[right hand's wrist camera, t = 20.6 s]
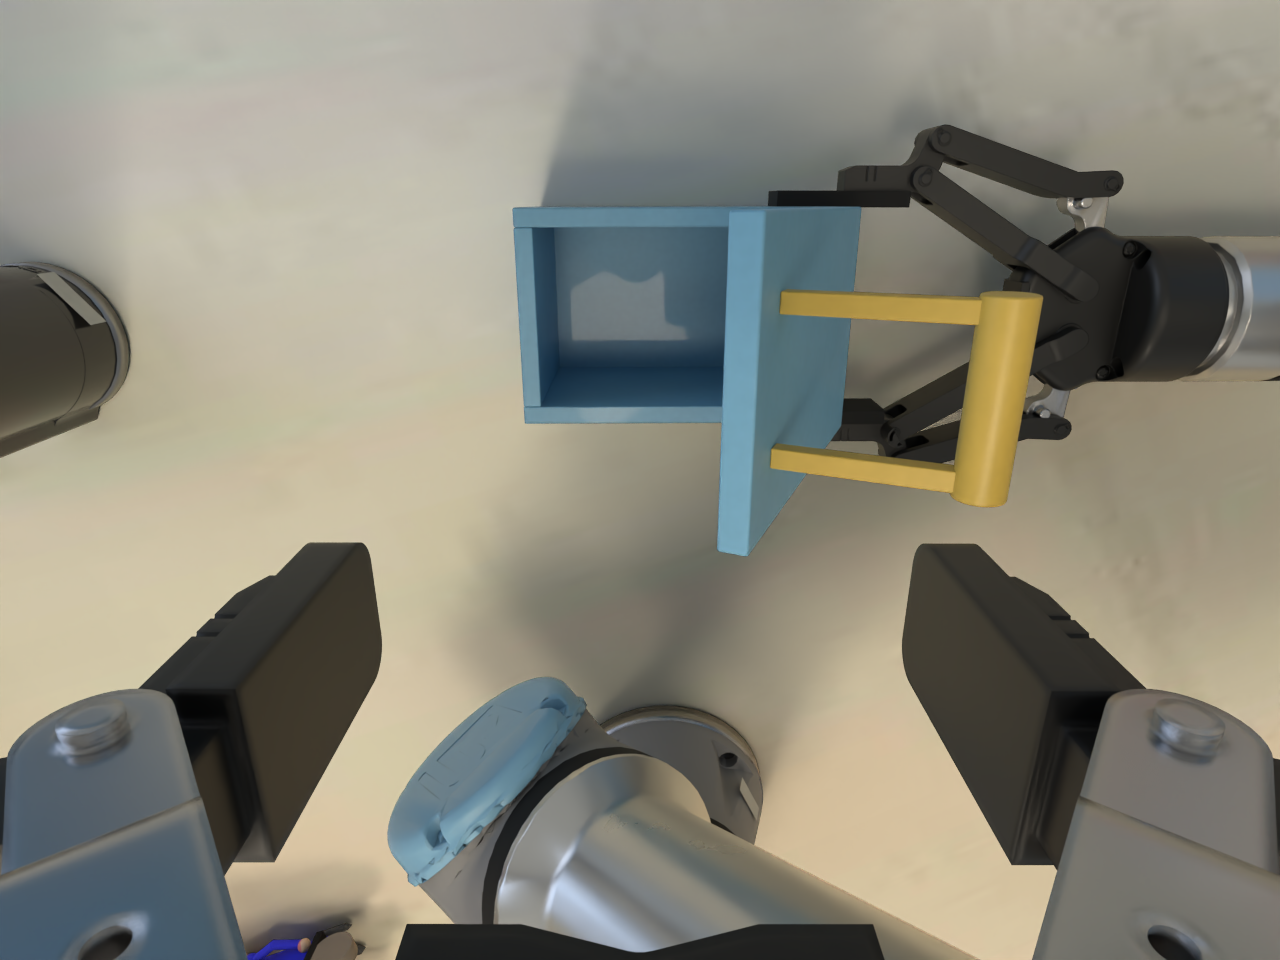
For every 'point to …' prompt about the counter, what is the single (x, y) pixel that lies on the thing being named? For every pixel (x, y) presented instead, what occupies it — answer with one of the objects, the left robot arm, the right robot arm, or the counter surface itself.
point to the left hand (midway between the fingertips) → (765, 310)
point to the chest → (622, 312)
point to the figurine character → (313, 947)
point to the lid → (844, 370)
